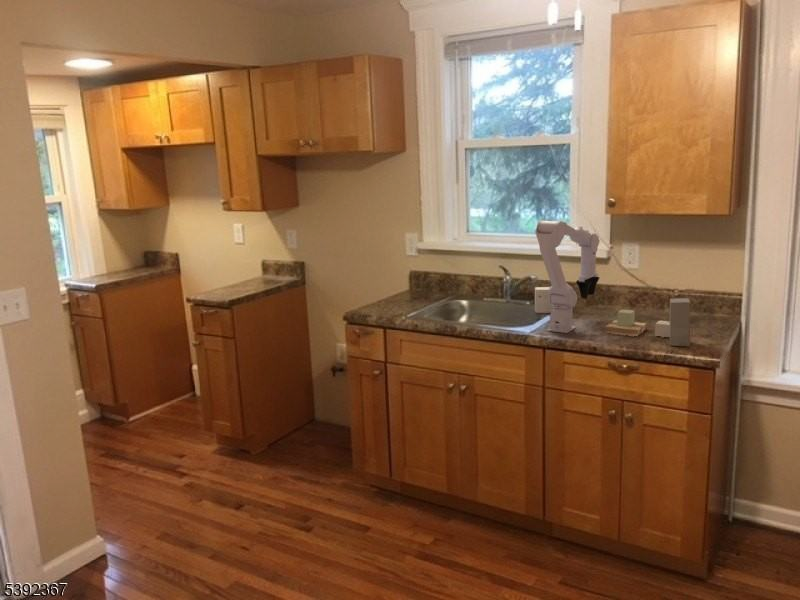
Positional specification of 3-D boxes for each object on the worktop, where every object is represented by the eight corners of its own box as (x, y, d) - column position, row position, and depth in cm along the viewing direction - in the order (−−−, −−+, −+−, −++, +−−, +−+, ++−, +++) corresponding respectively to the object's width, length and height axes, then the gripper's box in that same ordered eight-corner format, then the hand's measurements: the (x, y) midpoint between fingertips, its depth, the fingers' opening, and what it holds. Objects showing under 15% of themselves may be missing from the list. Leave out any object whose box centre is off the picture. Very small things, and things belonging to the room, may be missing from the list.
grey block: (669, 338, 236) (669, 325, 235) (655, 336, 239) (655, 323, 238) (672, 335, 240) (673, 322, 239) (658, 333, 243) (659, 320, 242)
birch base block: (636, 338, 239) (637, 329, 239) (604, 334, 246) (604, 326, 246) (646, 330, 249) (646, 322, 248) (615, 327, 256) (615, 319, 255)
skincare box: (690, 347, 224) (692, 302, 221) (667, 346, 227) (669, 301, 223) (689, 340, 232) (691, 297, 228) (667, 339, 234) (669, 296, 231)
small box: (553, 310, 286) (553, 286, 283) (554, 313, 280) (554, 289, 278) (534, 310, 286) (534, 287, 284) (535, 313, 281) (535, 289, 279)
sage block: (630, 326, 244) (631, 313, 243) (617, 325, 247) (617, 312, 246) (634, 323, 248) (634, 310, 247) (621, 321, 251) (621, 309, 250)
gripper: (591, 266, 251) (591, 300, 254) (604, 260, 263) (603, 293, 265) (574, 265, 255) (573, 299, 258) (587, 259, 267) (586, 292, 270)
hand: (587, 296), depth 262 cm, fingers open, 7 cm apart
